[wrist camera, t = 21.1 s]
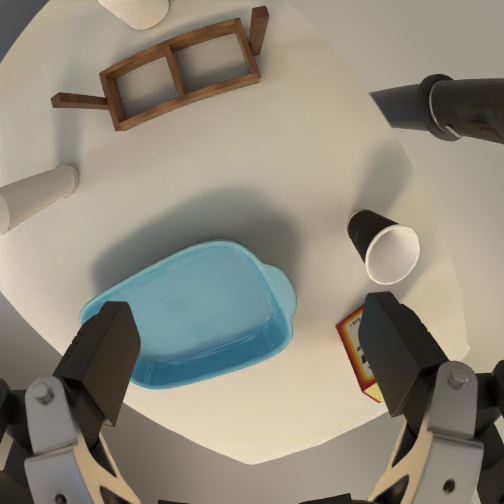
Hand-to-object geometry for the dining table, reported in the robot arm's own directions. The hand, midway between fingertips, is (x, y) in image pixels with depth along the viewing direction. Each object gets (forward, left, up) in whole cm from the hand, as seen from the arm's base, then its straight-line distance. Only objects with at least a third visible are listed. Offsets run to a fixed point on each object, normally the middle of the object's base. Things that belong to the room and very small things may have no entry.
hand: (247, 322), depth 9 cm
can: (+6, -28, -30) cm, 42 cm away
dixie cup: (-15, +12, -30) cm, 36 cm away
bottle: (+26, -9, -30) cm, 41 cm away
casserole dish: (+16, +18, -30) cm, 39 cm away
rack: (+4, -16, -30) cm, 34 cm away
